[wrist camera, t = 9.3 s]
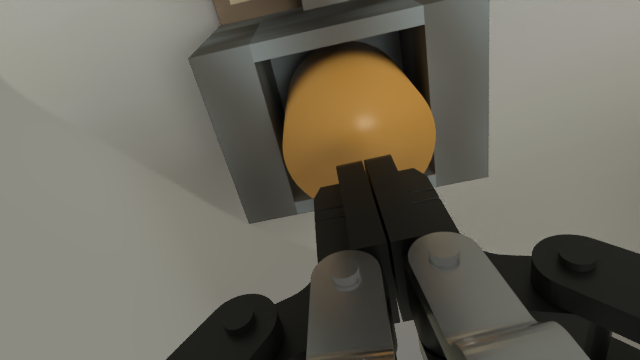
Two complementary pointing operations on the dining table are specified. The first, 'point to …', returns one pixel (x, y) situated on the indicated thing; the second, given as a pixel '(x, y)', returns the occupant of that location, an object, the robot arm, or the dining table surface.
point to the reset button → (352, 115)
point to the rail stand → (325, 30)
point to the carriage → (237, 1)
